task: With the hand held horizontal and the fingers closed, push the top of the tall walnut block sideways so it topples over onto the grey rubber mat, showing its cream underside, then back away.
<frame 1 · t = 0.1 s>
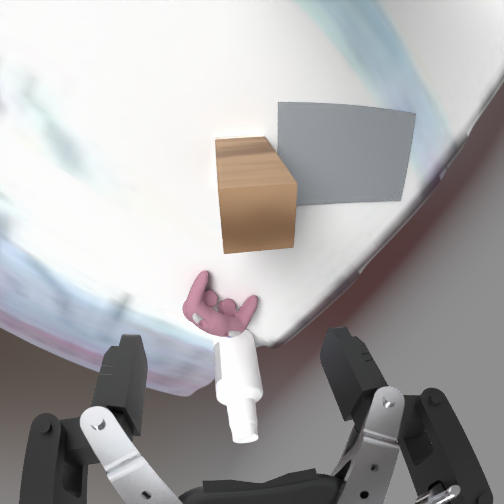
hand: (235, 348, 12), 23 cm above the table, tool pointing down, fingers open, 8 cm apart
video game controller: (220, 293, 41), on the table
spray bottle: (232, 337, 48), on the table
rubber mat: (349, 155, 31), on the table
walnut block: (240, 158, 30), on the table
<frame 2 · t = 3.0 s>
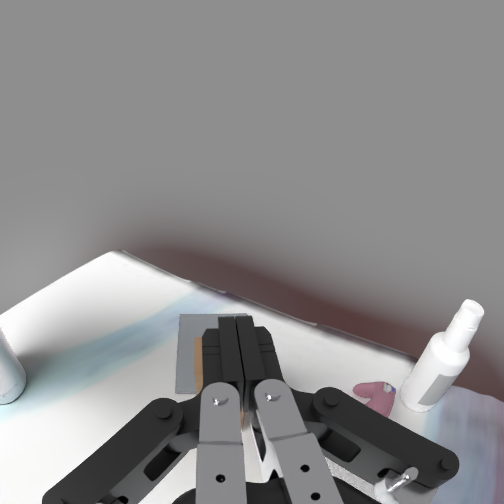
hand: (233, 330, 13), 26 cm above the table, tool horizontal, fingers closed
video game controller: (359, 419, 34), on the table
spray bottle: (417, 397, 36), on the table
rubber mat: (215, 349, 44), on the table
walnut block: (220, 416, 34), on the table
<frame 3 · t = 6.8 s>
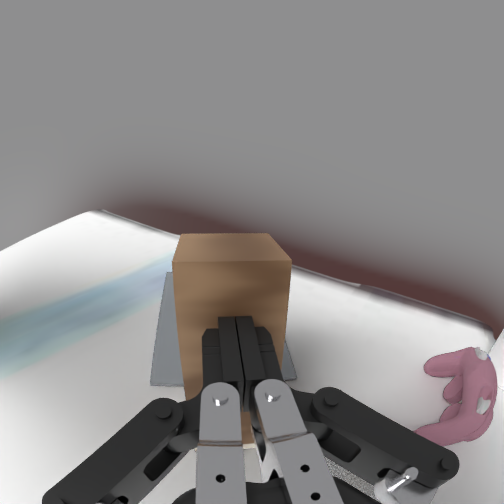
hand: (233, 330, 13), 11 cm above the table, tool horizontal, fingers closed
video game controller: (440, 411, 19), on the table
rubber mat: (217, 318, 29), on the table
walnut block: (229, 423, 18), on the table, tilted 11°
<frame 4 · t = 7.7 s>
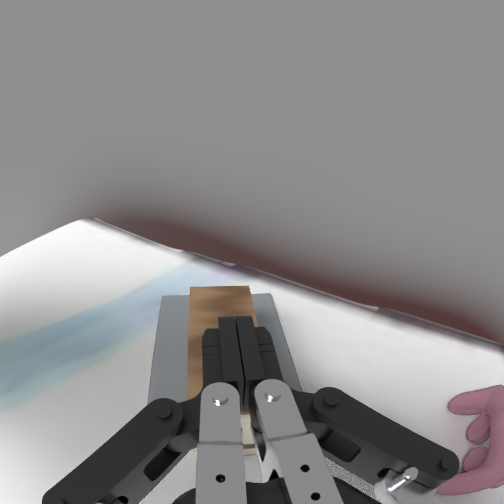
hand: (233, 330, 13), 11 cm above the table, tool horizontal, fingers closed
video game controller: (463, 452, 14), on the table
rubber mat: (221, 354, 25), on the table
walnut block: (234, 442, 15), point 3 cm above the table, tilted 90°, touching rubber mat
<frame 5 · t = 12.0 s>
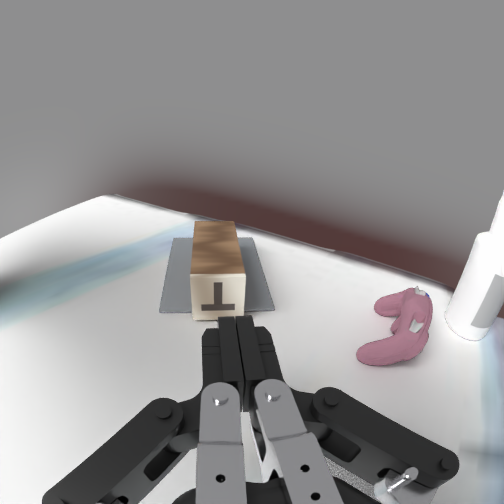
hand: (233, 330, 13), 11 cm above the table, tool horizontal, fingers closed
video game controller: (388, 342, 27), on the table
spray bottle: (464, 325, 29), on the table
rubber mat: (214, 268, 37), on the table
walnut block: (218, 299, 27), point 3 cm above the table, tilted 90°, touching rubber mat
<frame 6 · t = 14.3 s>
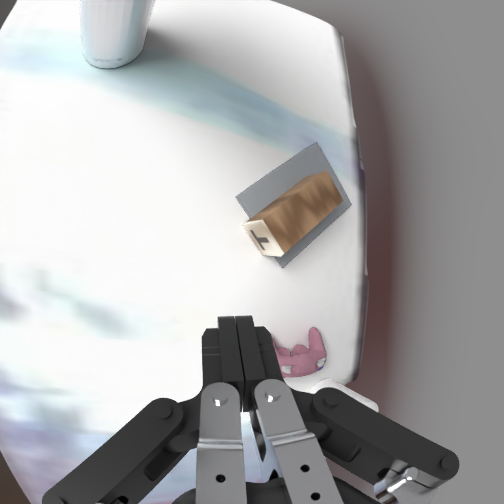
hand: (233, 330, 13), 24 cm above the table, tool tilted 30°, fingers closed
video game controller: (286, 346, 43), on the table
spray bottle: (320, 394, 47), on the table
rubber mat: (300, 200, 43), on the table
walnut block: (260, 240, 37), point 3 cm above the table, tilted 90°, touching rubber mat
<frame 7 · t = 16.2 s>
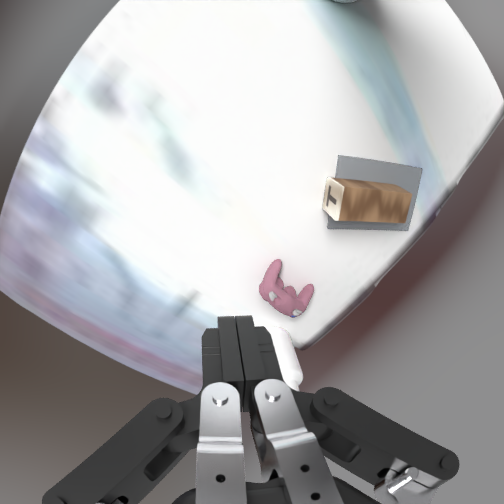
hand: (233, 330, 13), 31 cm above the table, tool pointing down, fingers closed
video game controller: (283, 281, 51), on the table
spray bottle: (272, 337, 57), on the table
rubber mat: (377, 196, 45), on the table
walnut block: (330, 198, 41), point 3 cm above the table, tilted 90°, touching rubber mat
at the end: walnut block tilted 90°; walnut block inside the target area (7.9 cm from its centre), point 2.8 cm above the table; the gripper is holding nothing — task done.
